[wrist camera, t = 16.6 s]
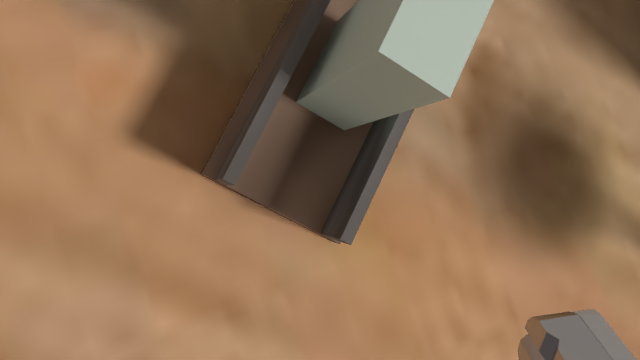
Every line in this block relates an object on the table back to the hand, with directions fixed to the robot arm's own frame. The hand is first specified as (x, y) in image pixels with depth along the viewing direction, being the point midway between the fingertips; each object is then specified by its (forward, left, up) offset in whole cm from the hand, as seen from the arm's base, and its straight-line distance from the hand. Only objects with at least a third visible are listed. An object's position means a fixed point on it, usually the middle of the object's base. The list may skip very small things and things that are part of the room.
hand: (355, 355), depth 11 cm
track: (0, +11, -15) cm, 19 cm away
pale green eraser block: (0, +11, -14) cm, 18 cm away
